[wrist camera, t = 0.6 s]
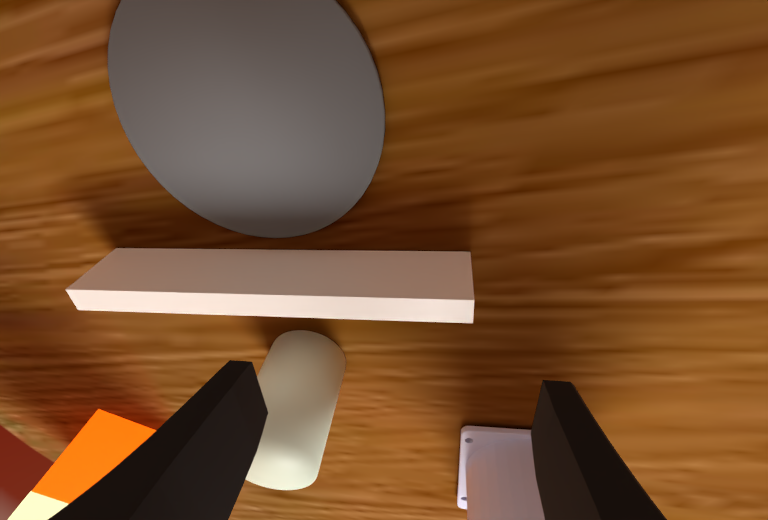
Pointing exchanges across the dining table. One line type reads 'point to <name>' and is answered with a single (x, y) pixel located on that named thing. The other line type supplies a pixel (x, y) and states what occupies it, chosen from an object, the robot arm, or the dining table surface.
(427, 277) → the divider wall
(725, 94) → the dining table surface
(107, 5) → the dining table surface
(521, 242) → the dining table surface
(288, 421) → the sage cylinder
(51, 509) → the orange juice
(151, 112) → the rubber mat
